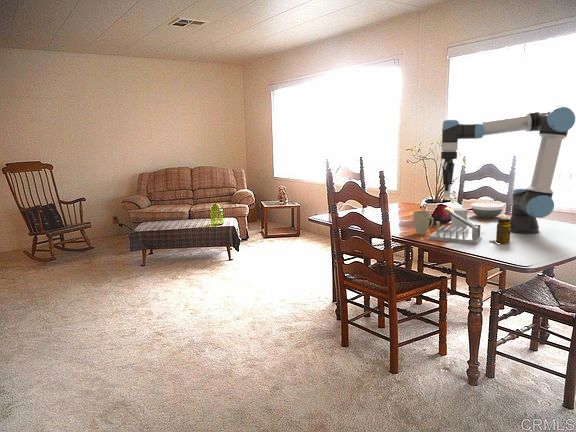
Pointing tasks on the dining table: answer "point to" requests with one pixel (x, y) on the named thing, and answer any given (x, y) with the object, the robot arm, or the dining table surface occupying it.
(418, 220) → the mug
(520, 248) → the dining table surface
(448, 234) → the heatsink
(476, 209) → the bowl
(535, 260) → the dining table surface
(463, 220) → the grey bar
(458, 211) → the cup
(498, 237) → the condiment
